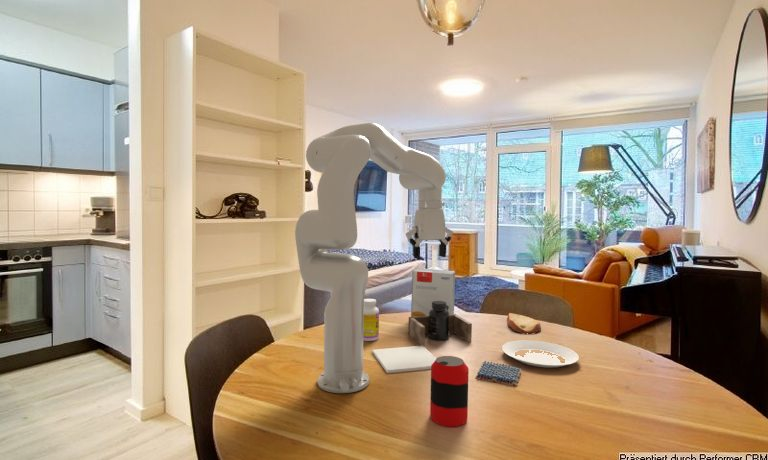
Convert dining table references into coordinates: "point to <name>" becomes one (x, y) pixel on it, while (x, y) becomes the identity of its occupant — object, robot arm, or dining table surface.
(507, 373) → the woven mat
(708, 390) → the dining table surface
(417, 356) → the white square board
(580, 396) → the dining table surface
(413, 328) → the shelf bay
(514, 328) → the slice of bread
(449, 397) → the soda can
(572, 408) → the dining table surface
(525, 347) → the plate
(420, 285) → the hard drive box
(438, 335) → the supplement bottle
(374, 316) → the supplement bottle
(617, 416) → the dining table surface
